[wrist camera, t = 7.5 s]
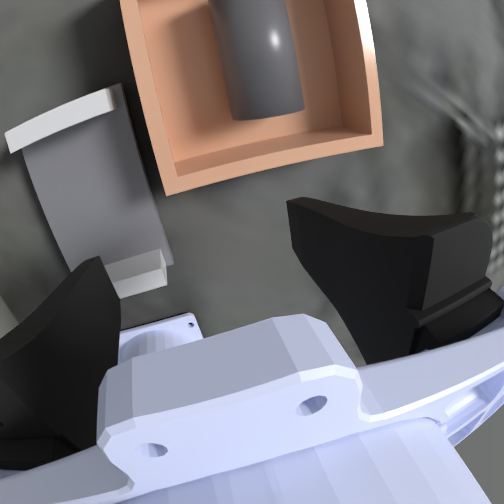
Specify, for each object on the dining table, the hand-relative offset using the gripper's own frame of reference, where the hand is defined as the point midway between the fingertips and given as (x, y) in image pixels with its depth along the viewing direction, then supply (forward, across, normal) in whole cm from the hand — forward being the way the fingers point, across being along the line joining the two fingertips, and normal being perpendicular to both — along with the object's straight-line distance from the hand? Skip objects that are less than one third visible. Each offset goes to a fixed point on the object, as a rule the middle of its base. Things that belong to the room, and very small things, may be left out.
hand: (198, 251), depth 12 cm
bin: (+9, -6, -7) cm, 13 cm away
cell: (+7, -6, -7) cm, 11 cm away
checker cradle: (+9, +6, -1) cm, 11 cm away
